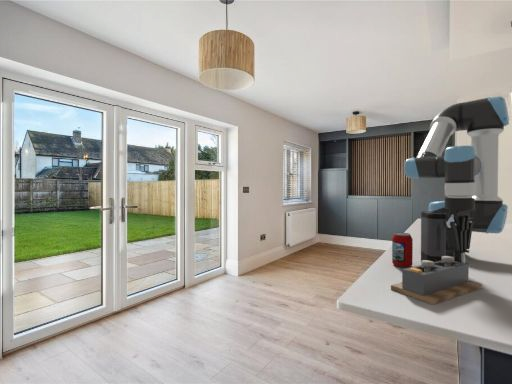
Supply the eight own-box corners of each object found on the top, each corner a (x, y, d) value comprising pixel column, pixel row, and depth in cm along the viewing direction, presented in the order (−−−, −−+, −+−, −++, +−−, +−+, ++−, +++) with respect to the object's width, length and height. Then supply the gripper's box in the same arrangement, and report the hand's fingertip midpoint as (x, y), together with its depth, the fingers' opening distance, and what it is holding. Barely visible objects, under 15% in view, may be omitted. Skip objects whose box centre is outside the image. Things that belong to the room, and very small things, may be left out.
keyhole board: (439, 276, 93) (439, 250, 93) (482, 288, 82) (482, 259, 82) (390, 289, 82) (390, 260, 82) (433, 304, 71) (433, 271, 71)
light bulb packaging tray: (446, 276, 89) (447, 257, 89) (468, 282, 84) (468, 261, 84) (402, 288, 79) (402, 267, 79) (423, 296, 74) (423, 272, 74)
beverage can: (388, 263, 109) (388, 232, 109) (405, 262, 109) (405, 232, 109) (398, 268, 102) (398, 235, 102) (416, 267, 103) (416, 235, 102)
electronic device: (447, 270, 100) (448, 213, 99) (428, 269, 101) (429, 213, 100) (436, 263, 109) (436, 211, 108) (419, 262, 110) (419, 211, 109)
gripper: (457, 195, 93) (457, 266, 94) (434, 197, 87) (435, 273, 88) (484, 196, 86) (484, 272, 87) (461, 198, 80) (462, 280, 81)
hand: (459, 272), depth 87 cm, fingers closed
